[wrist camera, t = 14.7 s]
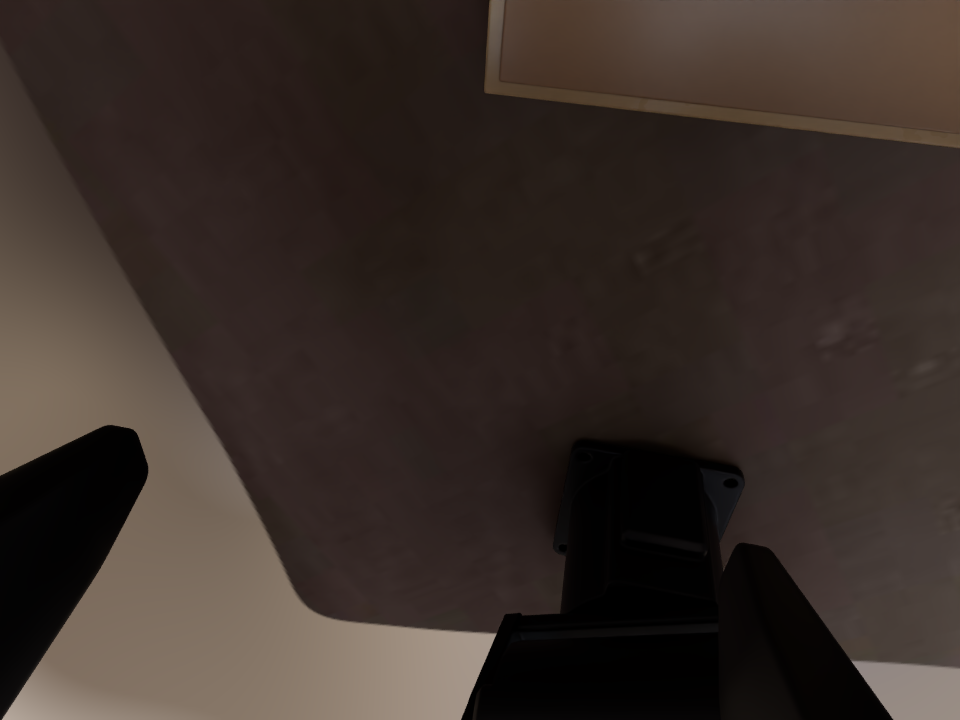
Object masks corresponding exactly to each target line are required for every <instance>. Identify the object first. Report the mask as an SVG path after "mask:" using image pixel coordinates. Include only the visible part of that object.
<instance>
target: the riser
mask: <svg viewBox="0 0 960 720" xmlns="http://www.w3.org/2000/svg"><path fill="white" fill-rule="evenodd" d="M484 92H485V93H487V94H496V95H505V96H513V97H522V98H530V99H539V100H548V101H556V102H565V103H573V104H582V105H591V106H599V107H608V108H616V109H625V110H633V111H642V112H651V113H659V114H668V115H676V116H685V117H694V118H702V119H711V120H719V121H728V122H737V123H745V124H754V125H762V126H771V127H780V128H788V129H797V130H805V131H814V132H823V133H831V134H840V135H848V136H857V137H865V138H874V139H883V140H891V141H900V142H908V143H917V144H926V145H934V146H943V147H951V148H960V0H489V14H488V30H487V46H486V62H485V78H484Z"/></svg>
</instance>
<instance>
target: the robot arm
mask: <svg viewBox="0 0 960 720" xmlns="http://www.w3.org/2000/svg"><path fill="white" fill-rule="evenodd" d="M580 453H588V455H582V454H580ZM147 476H148V464H147V461H146V458H145V455H144V452H143V449H142V446H141V443H140V440H139V437H138V435H137V433H136V432H135V431H134V430H133V429H130V428H124V427H119V426H114V425H107V426H103V427H101V428H99V429H96V430H94V431H92V432H90V433H88V434H86V435H84V436H82V437H80V438H78V439H76V440H74V441H72V442H70V443H67V444H65V445H63V446H61V447H59V448H57V449H55V450H53V451H51V452H49V453H47V454H45V455H42V456H40V457H38V458H36V459H34V460H32V461H30V462H28V463H26V464H24V465H22V466H20V467H18V468H16V469H14V470H12V471H9V472H7V473H5V474H3V475H1V476H0V720H2V719H3V716H4V715H5V714H6V712H7V711H8V709H9V708H10V706H11V705H12V703H13V702H14V700H15V698H16V697H17V696H18V694H19V693H20V691H21V690H22V688H23V687H24V685H25V683H26V682H27V680H28V679H29V677H30V676H31V674H32V673H33V671H34V670H35V668H36V667H37V665H38V664H39V662H40V661H41V659H42V657H43V656H44V654H45V653H46V651H47V650H48V648H49V647H50V645H51V643H52V642H53V641H54V639H55V638H56V636H57V635H58V633H59V631H60V630H61V628H62V627H63V625H64V624H65V622H66V621H67V619H68V618H69V616H70V615H71V613H72V612H73V610H74V609H75V607H76V605H77V604H78V602H79V601H80V599H81V598H82V596H83V595H84V593H85V592H86V590H87V589H88V587H89V586H90V584H91V582H92V581H93V579H94V578H95V576H96V574H97V573H98V571H99V570H100V568H101V566H102V564H103V563H104V561H105V559H106V557H107V555H108V554H109V552H110V550H111V548H112V546H113V544H114V542H115V540H116V538H117V536H118V534H119V532H120V531H121V528H122V527H123V525H124V523H125V521H126V519H127V517H128V515H129V513H130V511H131V509H132V507H133V506H134V504H135V502H136V499H137V498H138V496H139V494H140V492H141V490H142V488H143V486H144V484H145V482H146V479H147ZM727 479H734V480H731V481H727ZM744 484H745V481H744V475H743V473H742V471H741V470H740V469H738V468H736V467H733V466H727V465H721V464H716V463H710V462H704V461H698V460H693V459H687V458H681V457H676V456H670V455H664V454H659V453H653V452H647V451H641V450H636V449H630V448H624V447H619V446H613V445H607V444H601V443H596V442H590V441H579V442H577V443H575V444H574V445H573V447H572V451H571V456H570V461H569V466H568V471H567V476H566V480H565V485H564V490H563V495H562V500H561V505H560V510H559V515H558V520H557V525H556V530H555V535H554V541H553V549H554V551H555V552H557V553H558V554H560V555H564V556H566V561H565V571H564V581H563V591H562V601H561V611H560V614H543V615H525V616H522V614H521V613H513V614H505V616H504V618H503V620H502V623H501V625H500V627H499V630H498V632H497V634H496V637H495V639H494V641H493V644H492V646H491V648H490V651H489V653H488V656H487V658H486V660H485V663H484V665H483V667H482V670H481V672H480V674H479V677H478V679H477V681H476V684H475V686H474V688H473V691H472V693H471V695H470V698H469V701H468V704H467V706H466V709H465V712H464V714H463V716H462V719H461V720H893V719H892V718H891V716H890V714H889V713H888V712H887V710H886V709H885V708H884V706H883V705H882V703H881V702H880V701H879V699H878V698H877V696H876V695H875V694H874V692H873V691H872V689H871V688H870V687H869V685H868V684H867V682H866V681H865V680H864V678H863V677H862V675H861V674H860V673H859V671H858V670H857V668H856V667H855V666H854V664H853V663H852V661H851V660H850V659H849V657H848V656H847V655H846V653H845V652H844V650H843V649H842V648H841V646H840V645H839V643H838V642H837V641H836V639H835V638H834V636H833V635H832V634H831V632H830V631H829V629H828V628H827V627H826V625H825V624H824V622H823V621H822V620H821V618H820V617H819V615H818V614H817V613H816V611H815V610H814V609H813V607H812V606H811V604H810V603H809V602H808V600H807V599H806V597H805V596H804V595H803V593H802V592H801V590H800V589H799V588H798V586H797V585H796V583H795V582H794V581H793V579H792V578H791V576H790V575H789V574H788V572H787V571H786V569H785V568H784V567H783V565H782V564H781V563H780V561H779V560H778V558H777V557H776V556H775V554H774V553H773V552H772V551H771V550H770V549H769V548H767V547H764V546H759V545H753V544H748V543H739V544H738V545H736V547H735V548H734V550H733V552H732V554H731V557H730V559H729V561H728V563H727V565H726V568H725V570H724V572H723V567H722V560H721V552H720V544H719V543H720V540H721V538H722V536H723V534H724V531H725V529H726V527H727V524H728V522H729V520H730V517H731V515H732V513H733V511H734V508H735V506H736V504H737V501H738V499H739V497H740V495H741V492H742V490H743V488H744ZM564 544H566V545H564Z"/></svg>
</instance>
